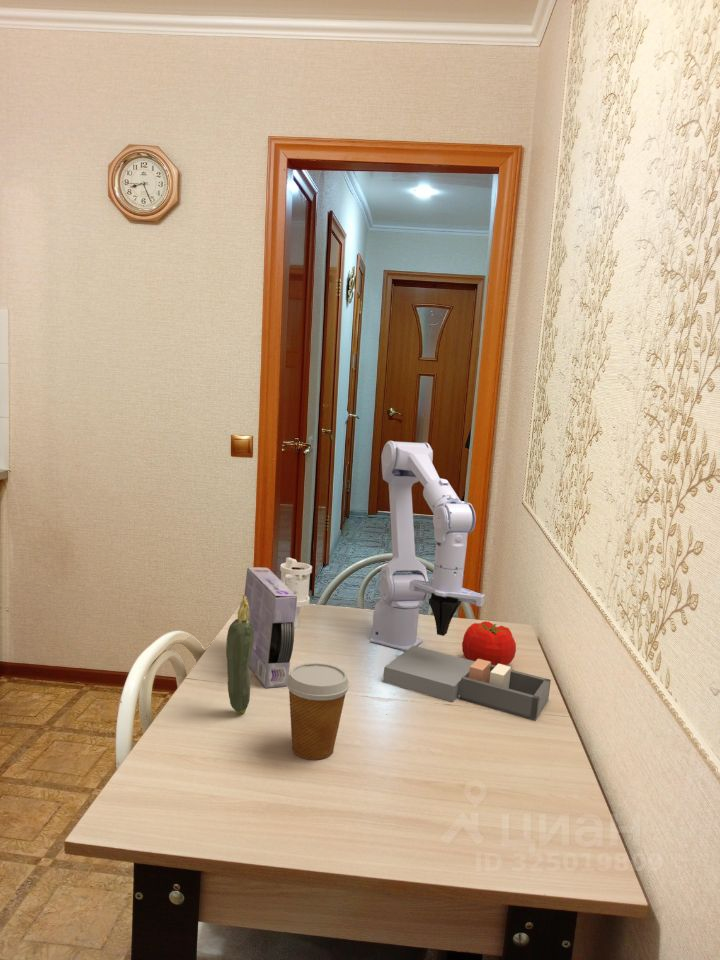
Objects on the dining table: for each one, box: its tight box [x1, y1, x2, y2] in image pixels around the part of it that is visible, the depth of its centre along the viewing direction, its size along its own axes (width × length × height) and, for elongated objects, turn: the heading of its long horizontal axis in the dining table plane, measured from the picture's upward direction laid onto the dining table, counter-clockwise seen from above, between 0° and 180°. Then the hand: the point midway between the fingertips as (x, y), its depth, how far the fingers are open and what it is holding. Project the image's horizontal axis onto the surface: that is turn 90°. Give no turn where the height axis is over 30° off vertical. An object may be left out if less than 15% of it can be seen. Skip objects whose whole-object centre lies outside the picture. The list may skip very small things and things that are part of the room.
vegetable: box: [225, 594, 254, 714], centre depth 116 cm, size 4×4×20 cm
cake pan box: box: [243, 566, 297, 689], centre depth 135 cm, size 19×5×18 cm, turn 25°
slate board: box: [382, 645, 475, 703], centre depth 138 cm, size 14×14×3 cm
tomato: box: [461, 621, 517, 666], centre depth 147 cm, size 11×11×9 cm
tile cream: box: [489, 664, 512, 689], centre depth 132 cm, size 5×5×2 cm
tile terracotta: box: [469, 659, 491, 683], centre depth 133 cm, size 5×5×2 cm
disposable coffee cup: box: [286, 662, 351, 761], centre depth 107 cm, size 10×10×12 cm
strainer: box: [279, 557, 313, 629], centre depth 160 cm, size 7×7×15 cm
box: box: [458, 665, 552, 722], centre depth 131 cm, size 14×10×4 cm
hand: (441, 633), depth 138 cm, fingers closed
